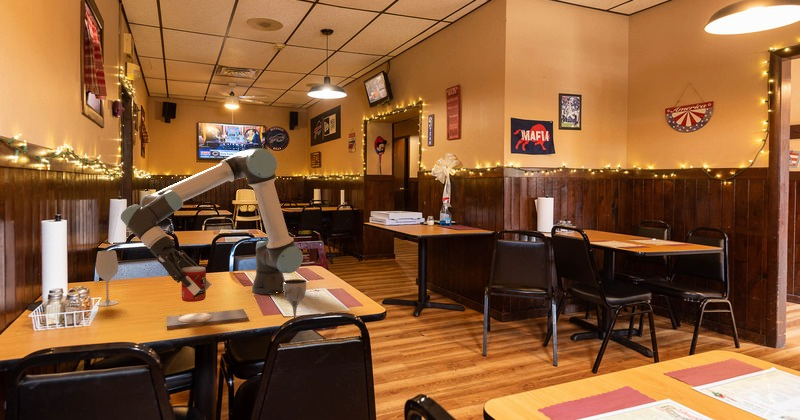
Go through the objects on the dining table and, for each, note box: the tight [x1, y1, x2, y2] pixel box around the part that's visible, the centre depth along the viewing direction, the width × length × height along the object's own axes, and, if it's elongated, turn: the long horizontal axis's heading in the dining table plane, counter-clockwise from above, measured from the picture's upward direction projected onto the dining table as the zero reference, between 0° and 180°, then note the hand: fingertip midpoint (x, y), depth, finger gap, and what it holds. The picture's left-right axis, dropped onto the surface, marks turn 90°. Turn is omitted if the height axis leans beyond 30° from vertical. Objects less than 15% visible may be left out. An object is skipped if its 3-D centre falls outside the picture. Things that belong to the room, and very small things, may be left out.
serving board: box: [166, 308, 249, 330], centre depth 168 cm, size 26×12×2 cm, turn 116°
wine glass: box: [283, 278, 307, 319], centre depth 165 cm, size 8×8×15 cm
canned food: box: [181, 266, 207, 303], centre depth 166 cm, size 8×8×11 cm
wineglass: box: [95, 249, 119, 307], centre depth 188 cm, size 8×8×21 cm
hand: (203, 289), depth 165 cm, fingers closed on canned food, 8 cm apart
